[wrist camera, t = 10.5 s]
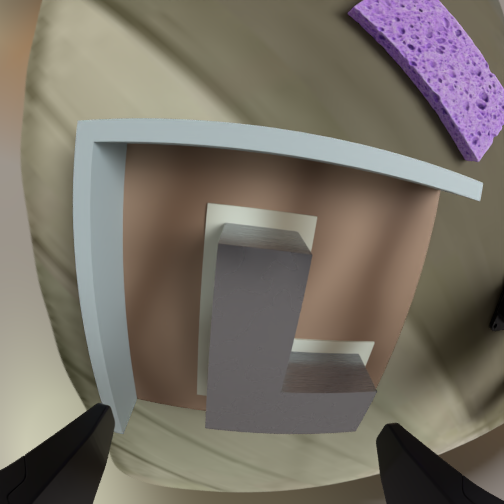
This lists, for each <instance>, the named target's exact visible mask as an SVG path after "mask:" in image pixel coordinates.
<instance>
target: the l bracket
mask: <svg viewBox="0 0 504 504" xmlns="http://www.w3.org/2000/svg"><path fill="white" fill-rule="evenodd" d="M311 260H312V253H311V251H310V250H309V248H308V247H307V245H306V243H305V242H304V240H303V239H302V237H301V236H300V234H299V232H297V231H290V230H282V229H274V228H266V227H258V226H250V225H241V224H233V223H225V225H224V228H223V231H222V233H221V236H220V239H219V242H218V248H217V259H216V270H215V281H214V293H213V306H212V319H211V333H210V348H209V364H208V381H207V401H206V424H205V428H209V429H217V430H227V431H238V432H252V433H274V434H317V433H338V432H352V431H356V429H357V428H358V426H359V424H360V423H361V421H362V419H363V417H364V415H365V414H366V412H367V410H368V408H369V406H370V404H371V402H372V400H373V398H374V397H375V395H376V393H377V390H376V388H375V386H374V384H373V382H372V380H371V378H370V376H369V373H368V371H367V369H366V367H365V365H364V363H363V361H362V359H361V357H360V355H359V354H346V353H313V352H294V351H291V350H292V346H293V342H294V338H295V334H296V329H297V325H298V321H299V316H300V312H301V308H302V303H303V299H304V294H305V289H306V285H307V280H308V275H309V270H310V265H311Z"/></svg>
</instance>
